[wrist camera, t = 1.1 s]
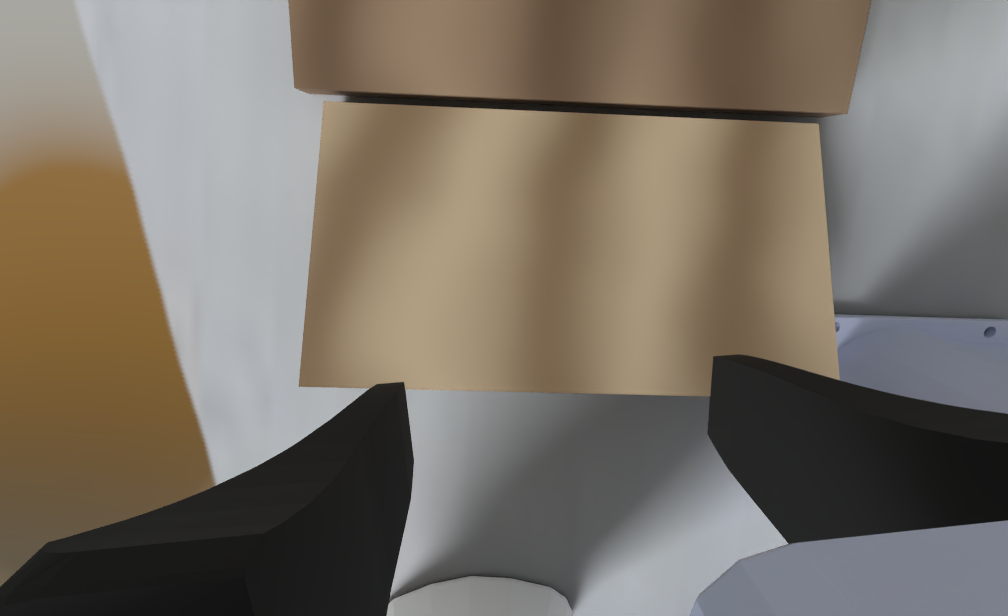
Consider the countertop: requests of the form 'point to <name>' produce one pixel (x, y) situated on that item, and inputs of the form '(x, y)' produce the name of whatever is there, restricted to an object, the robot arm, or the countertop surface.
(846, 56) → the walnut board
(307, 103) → the countertop surface
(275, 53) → the countertop surface
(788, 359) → the oak plank
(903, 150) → the countertop surface
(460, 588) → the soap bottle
